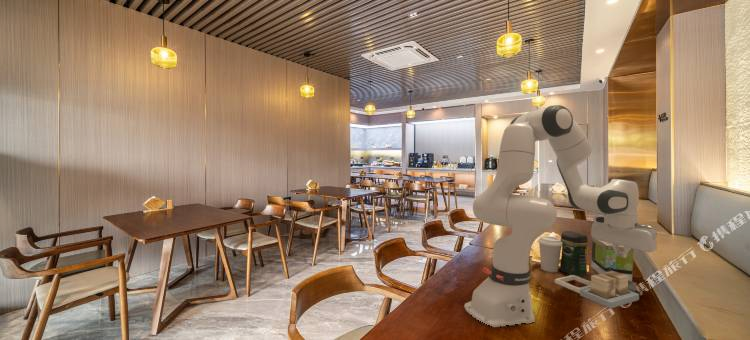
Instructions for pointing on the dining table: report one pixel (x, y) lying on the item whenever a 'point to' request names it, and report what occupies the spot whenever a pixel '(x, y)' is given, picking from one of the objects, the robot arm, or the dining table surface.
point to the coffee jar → (574, 253)
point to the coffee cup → (550, 253)
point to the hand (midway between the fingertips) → (620, 256)
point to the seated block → (603, 286)
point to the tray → (563, 283)
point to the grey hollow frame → (613, 301)
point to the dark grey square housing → (631, 286)
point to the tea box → (611, 259)
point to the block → (619, 282)
